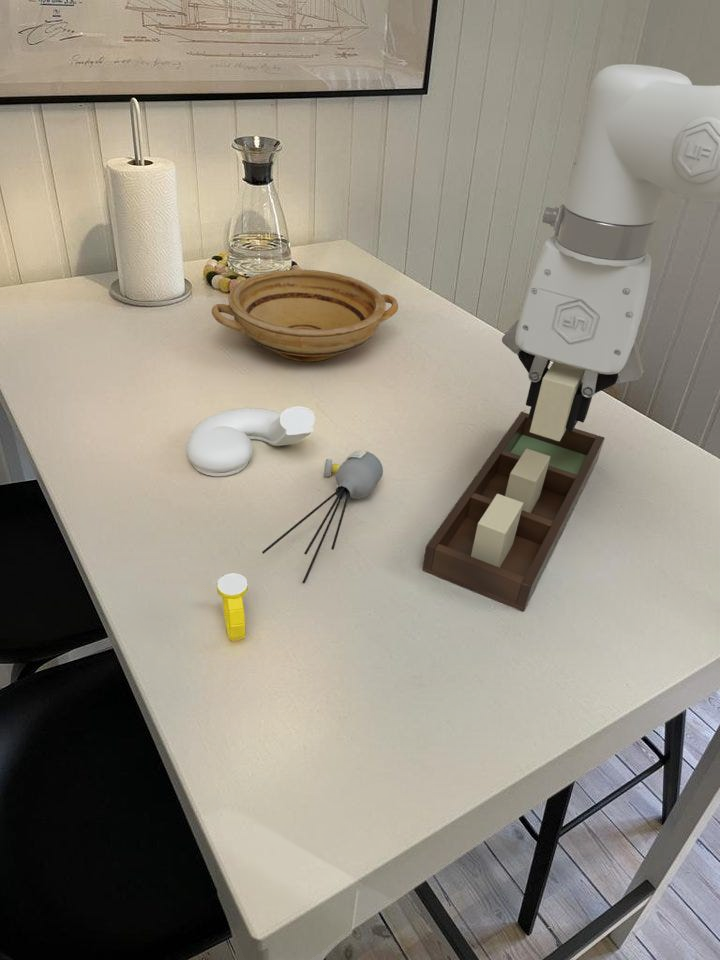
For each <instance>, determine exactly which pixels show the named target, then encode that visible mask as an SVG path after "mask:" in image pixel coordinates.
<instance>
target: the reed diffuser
mask: <svg viewBox="0 0 720 960" xmlns="http://www.w3.org/2000/svg"><path fill="white" fill-rule="evenodd" d="M323 471H324V472H323V477H326V478H327V477H328V478H331V476H332V474H335V483H336V486H337V487H336V489H335V492H334V493H332V494H331V495H330V496H328V497H327V498H326V499H325V500H323V501H322V502H321V503H320V504H319V505H317V506H316V507H315V508H314V509H312V511H310V512H309V513H308V514H307V515H305V516H304V517H302V519H300V520H299V521H298V522H297V523H295V524H294V525H293V526H292V527H291V528H289V529H288V530H287V531H285V532H284V533H283V534H282V535H281V536H280V537H278V538H277V539H275V540H274V541H273V542H272V543H271V544H270V545H268V546H267V547H266V548H265V549H263V551H261V554H263V555H264V554H265V553H267V552H268V551H269V550H270V549H272V548H273V547H274V546H275V545H276V544H278V542H280V541H281V540H283V539H284V538H285V537H286V536H288V535H289V534H290V533H291V532H292V531H293V530H295V529H296V528H297V527H298V526H299V525H301V524H302V523H303V522H304V521H306V520H307V519H308V518H309V517H310V516H311V515H313V514H314V513H315V512H317V511H318V510H319V509H321V507H323V506H324V505H325V504H326V503H327V502H328V501H330V500H331V499H333V498H334V497H335V496H336V498H335V499H334V501H333V502H332V505H331V506H330V508H329V510H328V511H327V513H326V515H325V517H324V518H323V520H322V521H321V524H320V525H319V527H318V529H317V530H316V532H315V534H314V535H313V537H312V539H311V541H310V542H309V544H308V546H307V547H306V549H305V551H304V553H303V554H304V555H307V554H308V552H309V551H310V549H311V547H312V545H313V544H314V543H315V540H316V539H317V538H318V536H319V534H320V532H321V530H322V528H323V527H324V525H325V524H326V522H327V520H328V518H329V516H330V515H331V514H332V515H331V516H330V518H329V520H328V523H327V525H326V527H325V529H324V532H323V534H322V537H321V539H320V541H319V543H318V546H317V548H316V550H315V553H314V555H313V557H312V559H311V562H310V564H309V566H308V568H307V570H306V573H305V575H304V577H303V580H302V584H306V581H307V580H308V577H309V574H310V572H311V570H312V568H313V566H314V563H315V560H316V558H317V556H318V554H319V552H320V549H321V547H322V545H323V543H324V540H325V538H326V536H327V533H328V531H329V528H330V526H331V524H332V522H333V520H334V517H335V515H336V512H337V510H338V508H339V506H340V504H341V501H344V504H343V507H342V510H341V513H340V517H339V520H338V524H337V527H336V531H335V535H334V538H333V541H332V544H331V548H330V549H331V550H332V551H333V550H334V549H335V546H336V543H337V539H338V536H339V532H340V530H341V526H342V522H343V519H344V516H345V511H346V508H347V504H348V501H349V500H350V498H351V499H354V500H358V499H360V500H361V499H363V498H366V497H367V496H369V495H370V494H371V493H372V492H373V490H374V489H375V488H376V487H377V485H378V484H379V483H380V481H381V479H382V477H383V475H384V468H383V464H382V462H381V460H380V459H379V458H378V457H377V456H376V455H375V454H374V453H372V452H369V451H367V450H361V449H360V450H355V451H352V453H350V455H349V456H348V457H347V458H346V459H345V460H344V461H343V462H342V463H341V464H336V463H333V459H329V458H326V459H325V465H324V470H323ZM332 511H333V512H332Z"/></svg>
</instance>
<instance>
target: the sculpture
mask: <svg viewBox="0 0 720 960" xmlns="http://www.w3.org/2000/svg"><path fill="white" fill-rule="evenodd" d="M315 422H316V416H315V413H314V412H313V411H312V409H310V408H308V407H306V406H299V405H298V406H291V407H288V408H286V409H284V410H283V411H282V412H281V413H280V412H278V411H276V410H272V409H267V408H258V407H257V408H256V407H244V408H235V409H234V408H233V409H229V410H225V411H221V412H218V413H214V414H212V415H210V416H208V417H206V418H204V419H203V420H202V421H200V422H199V423H198V424H197V425H196V426H195V427H194V428H193V430H192V431H191V433H190V435H189V437H188V440H187V444H186V456H187V458H188V460H189V462H190V463H191V464H192V466H193V468H194V469H195V470H196V471H197V472H199V473H201V474H203V475H206V476H210V477H228V476H232V475H236V474H238V473H240V472H242V471H243V470H244V469H245V468H246V467H247V466H248V464H249V462H250V459H251V457H252V456H253V452H254V448H253V443H252V440H256V441H261V442H265V443H266V444H269V445H271V446H272V447H273V446H274V447H281V446H288V445H289V446H290V445H296V444H299V443H300V442H302V441H303V440H305V439H306V438H307V437H309V436H310V434H311V433H313V432H314V428H313V426H314V424H315Z"/></svg>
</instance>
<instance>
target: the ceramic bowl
mask: <svg viewBox="0 0 720 960" xmlns="http://www.w3.org/2000/svg"><path fill="white" fill-rule="evenodd" d="M386 303H387V304H390V305H391V306H390V307H389V308H388V309H386V308H387V304H386ZM398 310H399V302H398V300H397V299H396V298H395V297H394V296H392V295H389V294H384V293H383V294H381V293H380V291H378V290H377V289H376V288H375V287H373V286H372V285H370V284H368V283H366V282H364V281H362V280H360V279H358V278H354V277H352V276H348V275H344V274H340V273H336V272H331V271H325V270H317V269H316V270H315V269H284V270H283V269H282V270H274V271H267V272H263V273H259V274H256V275H253V276H249V277H247V278H245V279H243V280H241V281H240V282H238V283H237V284H236V285H234V286H233V287H232V288H231V290H230V292H229V295H228V304H225V303H216V304H214V305H213V307H212V308H211V315H212V317H213V318H214V319H215V320H216V322H217V323H219V324H220V325H223V326H225V327H227V328H229V329H231V330H235V331H237V332H239V333H242V334H244V335H245V336H247V337H248V338H249V340H251V341H253V342H254V343H255V344H257V345H259V346H261V347H263V348H265V349H267V350H270V351H273V352H275V353H277V354H278V355H280V356H282V357H283V358H287V359H290V360H293V361H299V362H300V361H301V362H317V361H318V362H319V361H323V360H324V361H325V360H328V359H331V358H333V357H335V356H336V355H338V354H343V353H346V352H349V351H352V350H354V349H356V348H358V347H360V346H362V345H363V344H364V343H366V341H368V340H369V339H370V338H371V337H372V336H373V335H374V333H375V332H376V330H377V329H378V328H379V325H380V324H381V323H383V322H385V321H386V320H388V319H390V318H391V317H393V316H394V315H395V314H396V313H397V312H398ZM222 313H223V314H227V315H230V316H233V318H234V320H232V319H230V318H228V317H226V316H225V315H223V314H222Z"/></svg>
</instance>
